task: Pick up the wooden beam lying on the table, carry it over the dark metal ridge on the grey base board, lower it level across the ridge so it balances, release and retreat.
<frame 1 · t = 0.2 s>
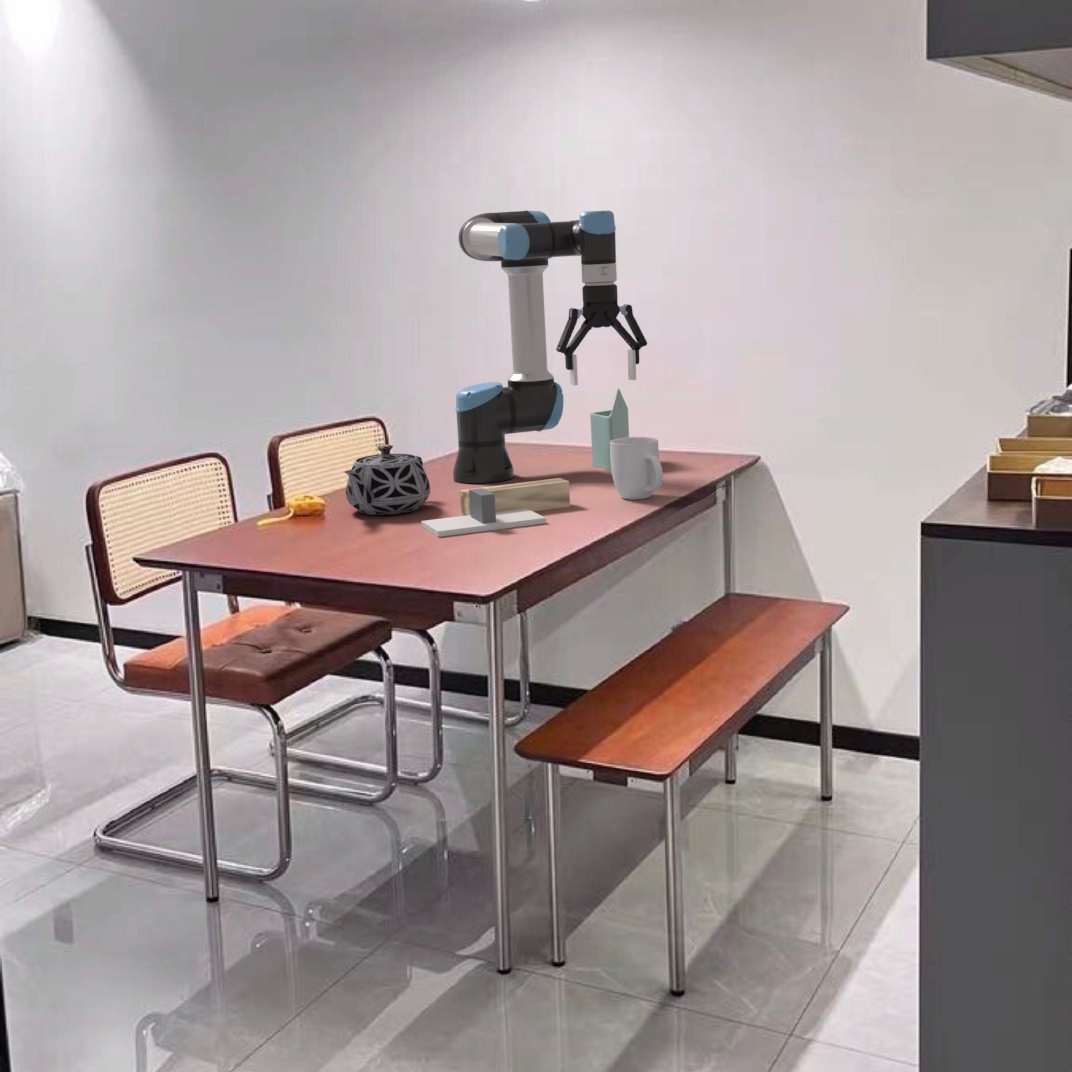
hand: (603, 382, 322), 27 cm above the table, fingers open, 13 cm apart
teapot: (387, 512, 335), on the table
mug: (638, 498, 335), on the table
fulcrum: (483, 524, 315), on the table
wooden beam: (516, 512, 327), on the table
planter: (607, 466, 379), on the table
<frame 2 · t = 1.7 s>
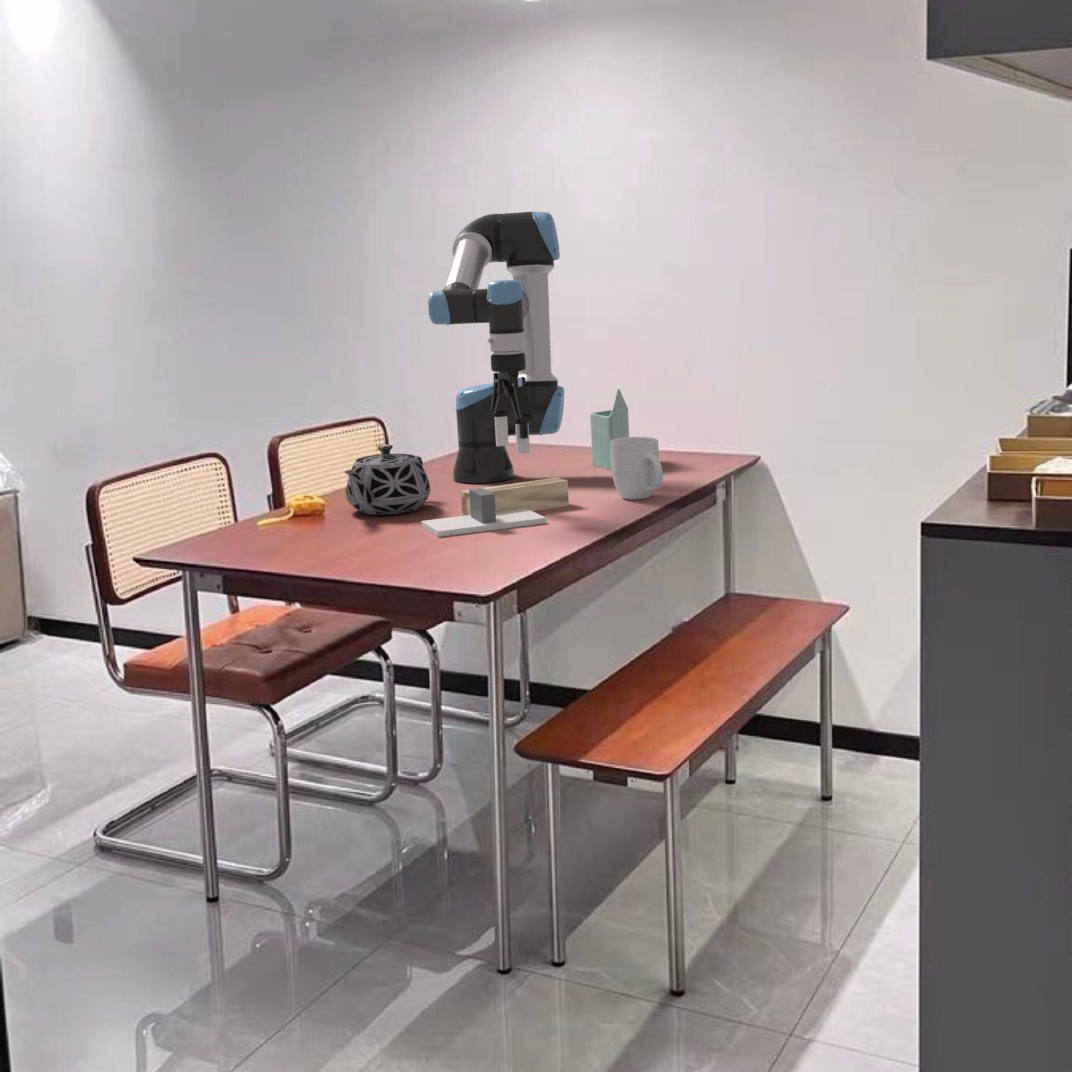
hand: (512, 449, 324), 14 cm above the table, fingers open, 13 cm apart
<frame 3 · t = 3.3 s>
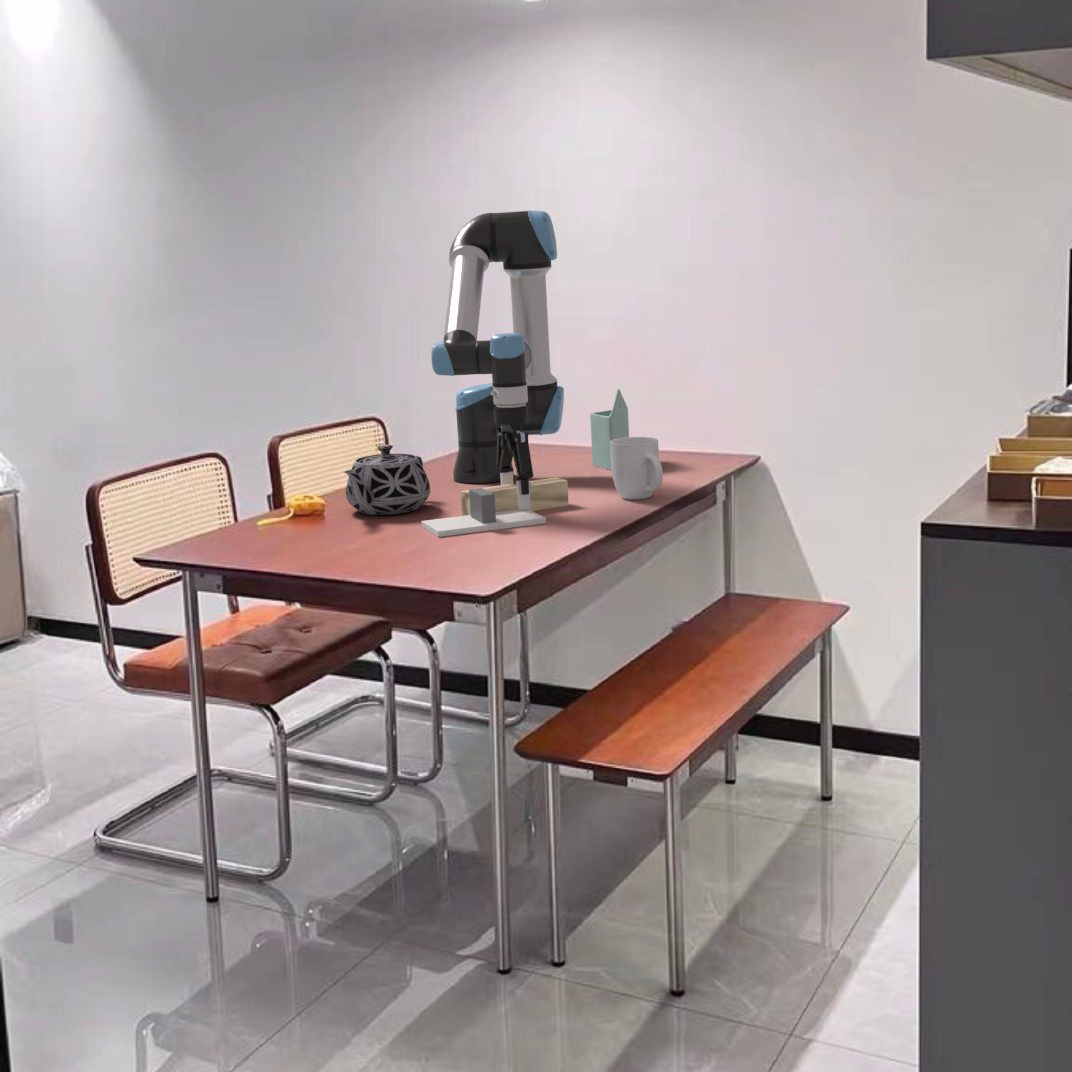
hand: (516, 504, 327), 1 cm above the table, fingers open, 10 cm apart
nothing on the table moved.
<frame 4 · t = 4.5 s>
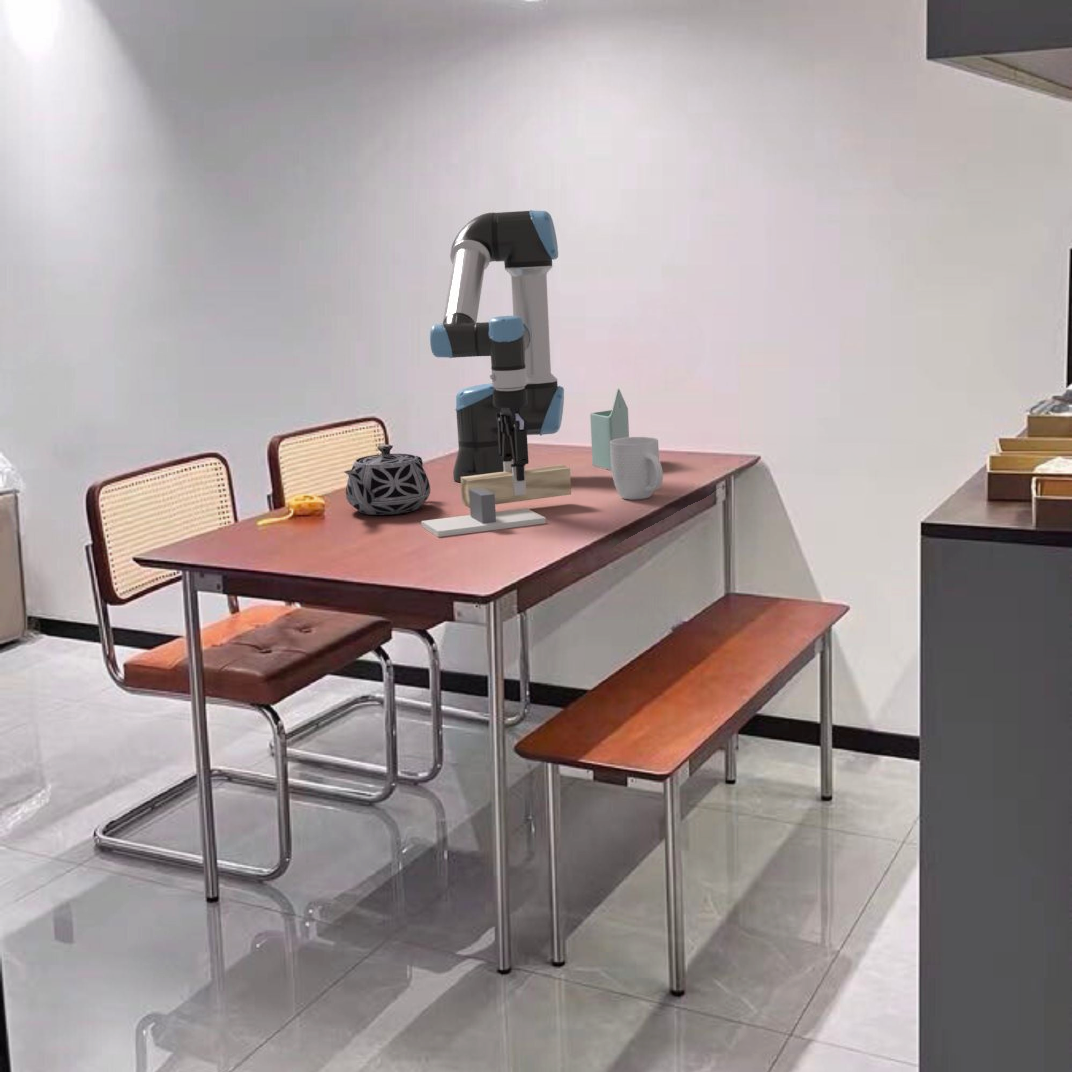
hand: (515, 492, 327), 4 cm above the table, fingers closed on wooden beam, 5 cm apart
wooden beam: (516, 499, 328), point 3 cm above the table, touching gripper
everything else where it was.
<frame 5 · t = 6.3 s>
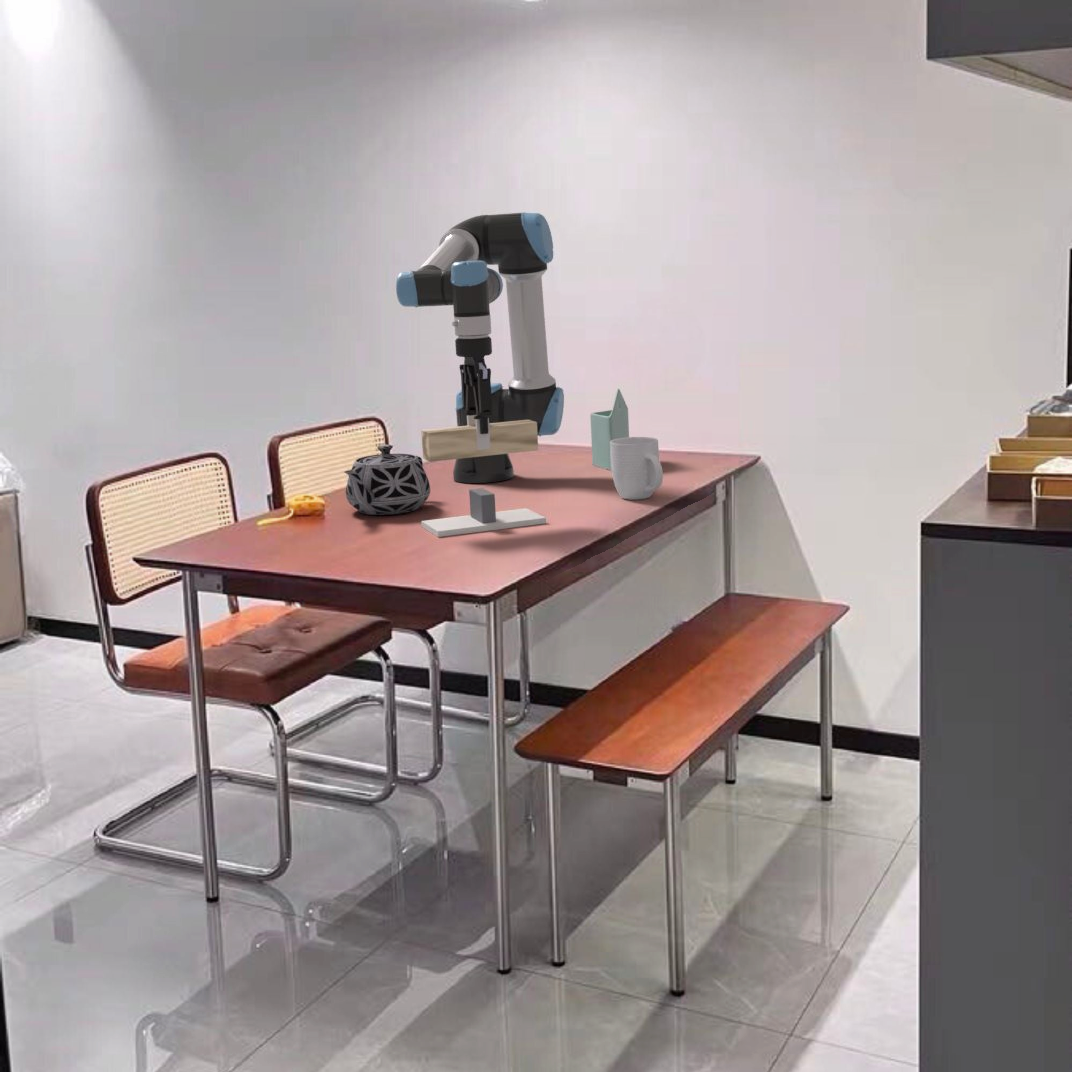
hand: (479, 447, 311), 17 cm above the table, fingers closed on wooden beam, 5 cm apart
wooden beam: (481, 454, 311), point 15 cm above the table, touching gripper
everything else where it was.
when the fingers open (9 cm above the table, at t = 8.3 s): wooden beam stays where it is, resting on fulcrum.
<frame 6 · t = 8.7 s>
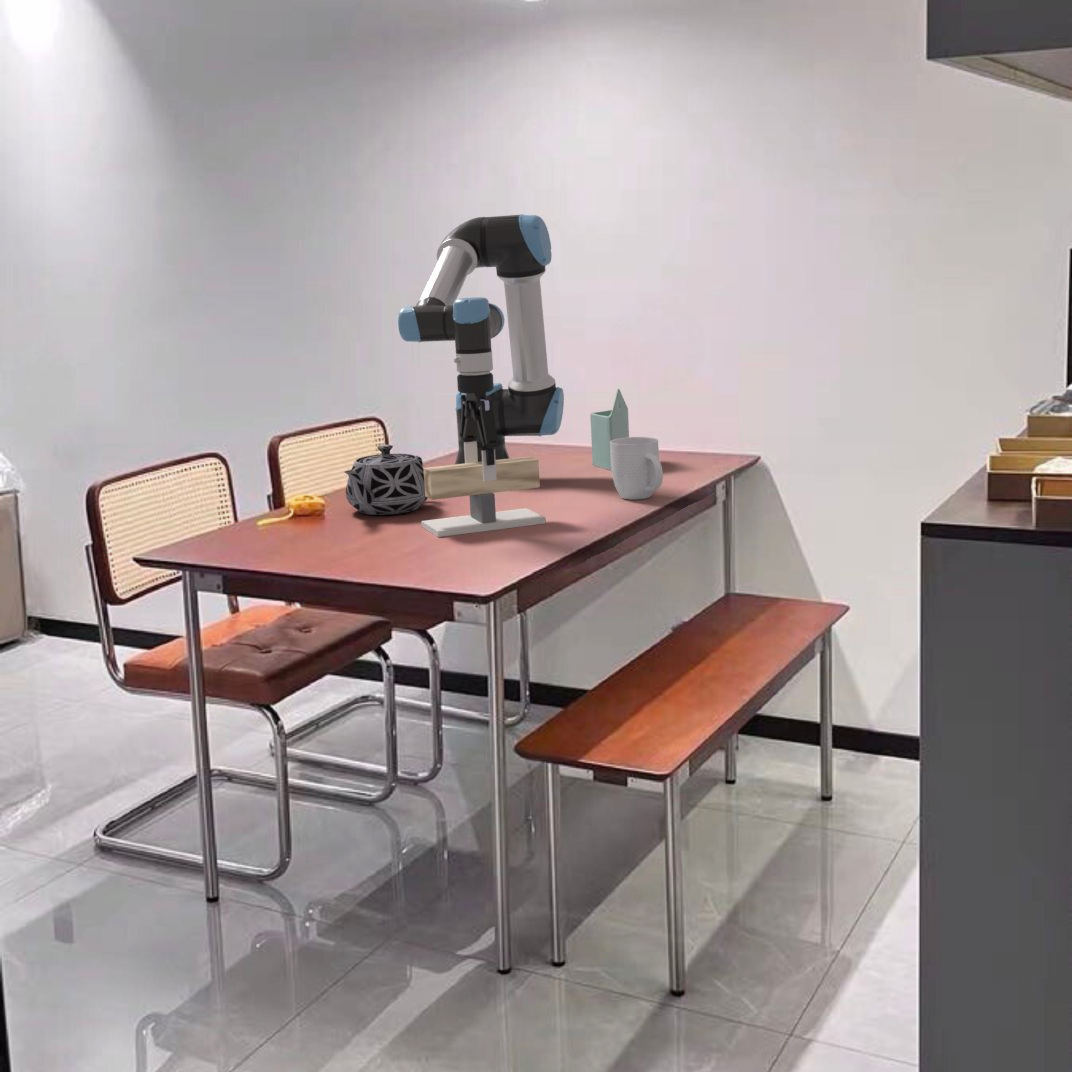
hand: (480, 476, 312), 11 cm above the table, fingers open, 11 cm apart
wooden beam: (482, 491, 313), point 7 cm above the table, touching fulcrum
everything else where it was.
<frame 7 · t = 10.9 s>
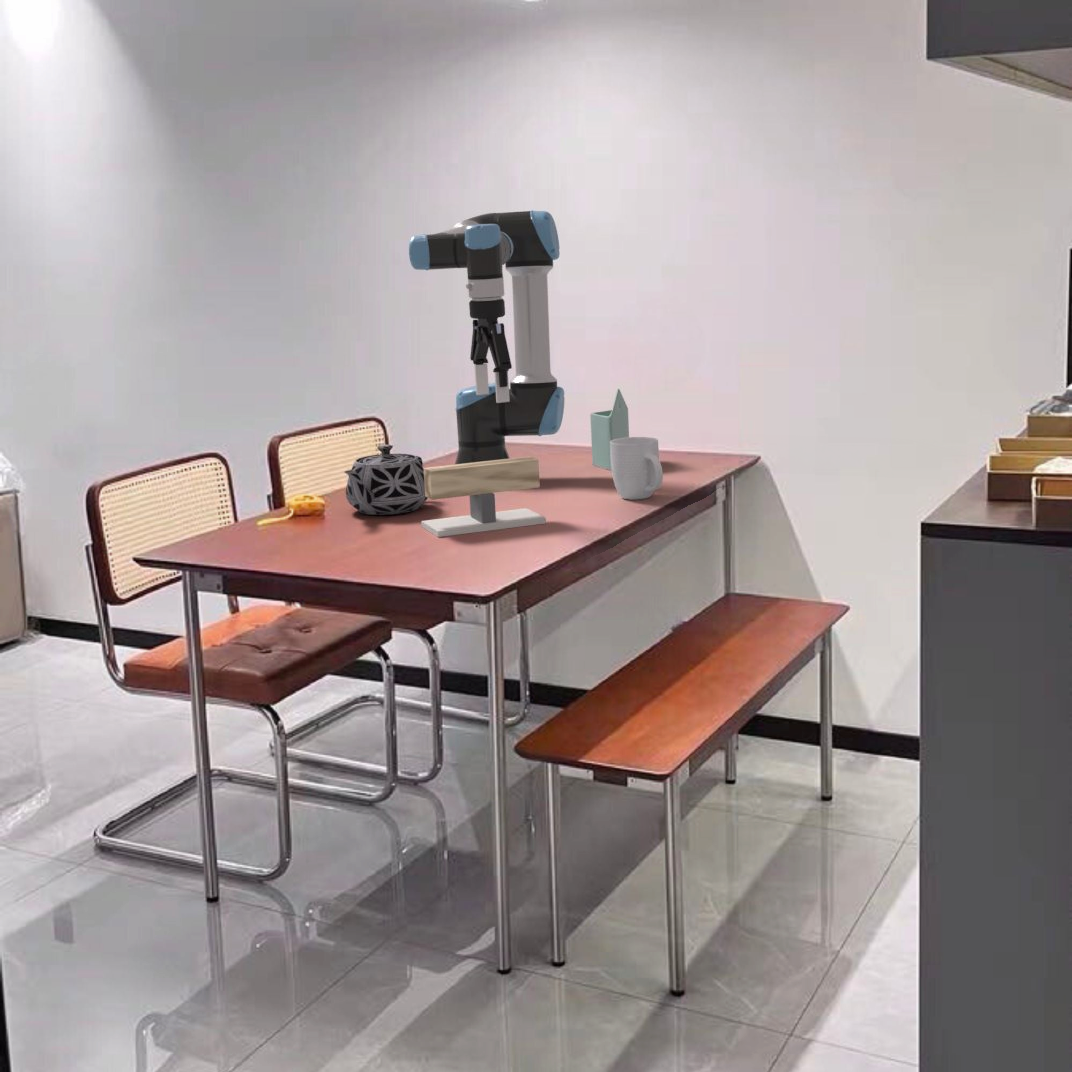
hand: (492, 398, 317), 26 cm above the table, fingers open, 13 cm apart
nothing on the table moved.
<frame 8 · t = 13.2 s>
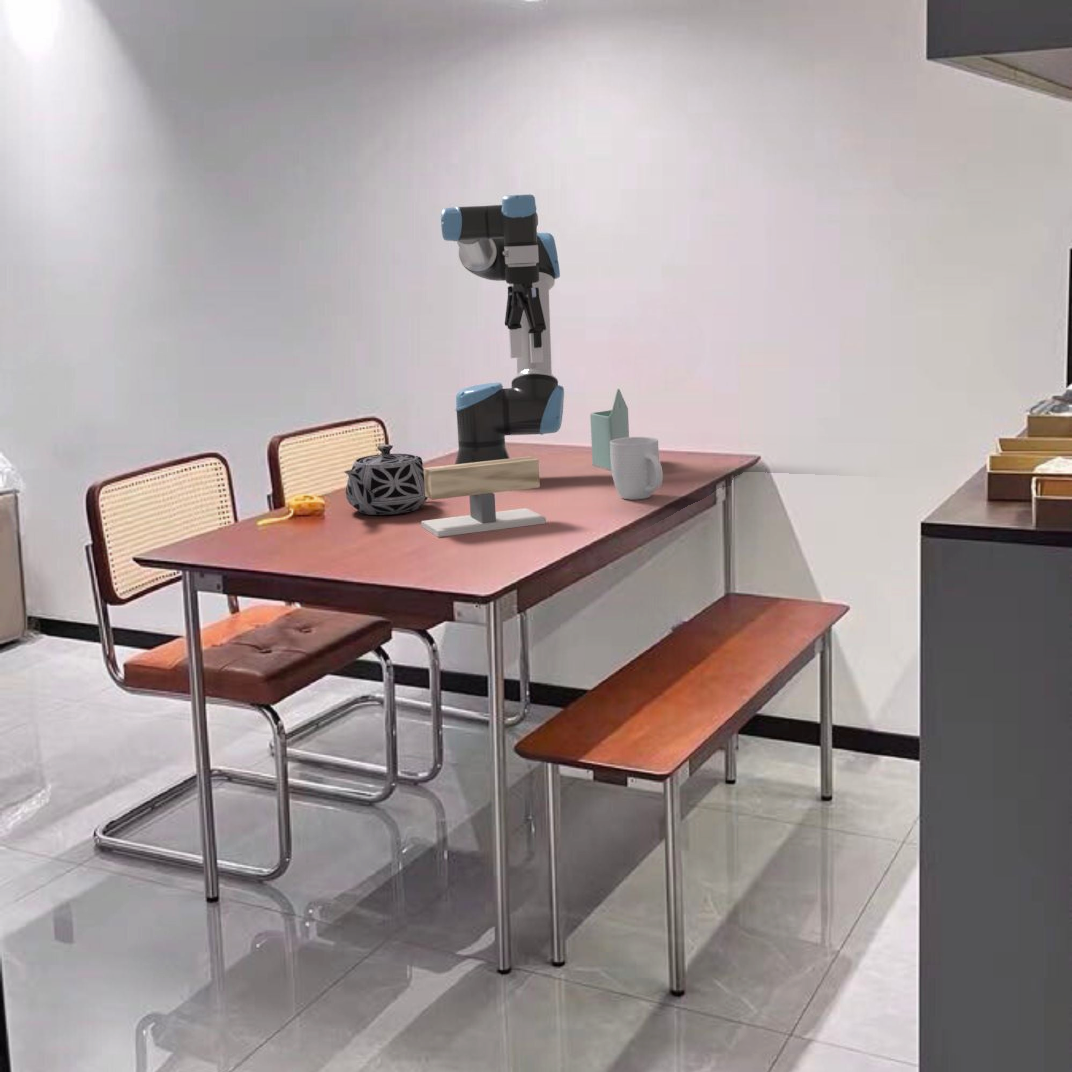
hand: (526, 360, 335), 32 cm above the table, fingers open, 13 cm apart
nothing on the table moved.
at the end: wooden beam inside the target area on the fulcrum (0.3 cm from its centre), point 7.2 cm above the fulcrum's base; wooden beam tilted 0°; wooden beam touching fulcrum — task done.
